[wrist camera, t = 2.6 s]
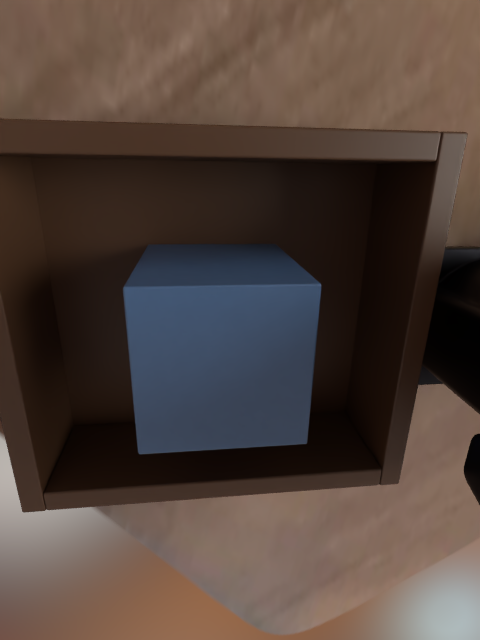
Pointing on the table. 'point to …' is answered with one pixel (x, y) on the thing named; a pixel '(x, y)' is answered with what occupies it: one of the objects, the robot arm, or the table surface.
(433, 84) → the table surface
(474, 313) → the robot arm
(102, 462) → the bin
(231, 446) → the block
